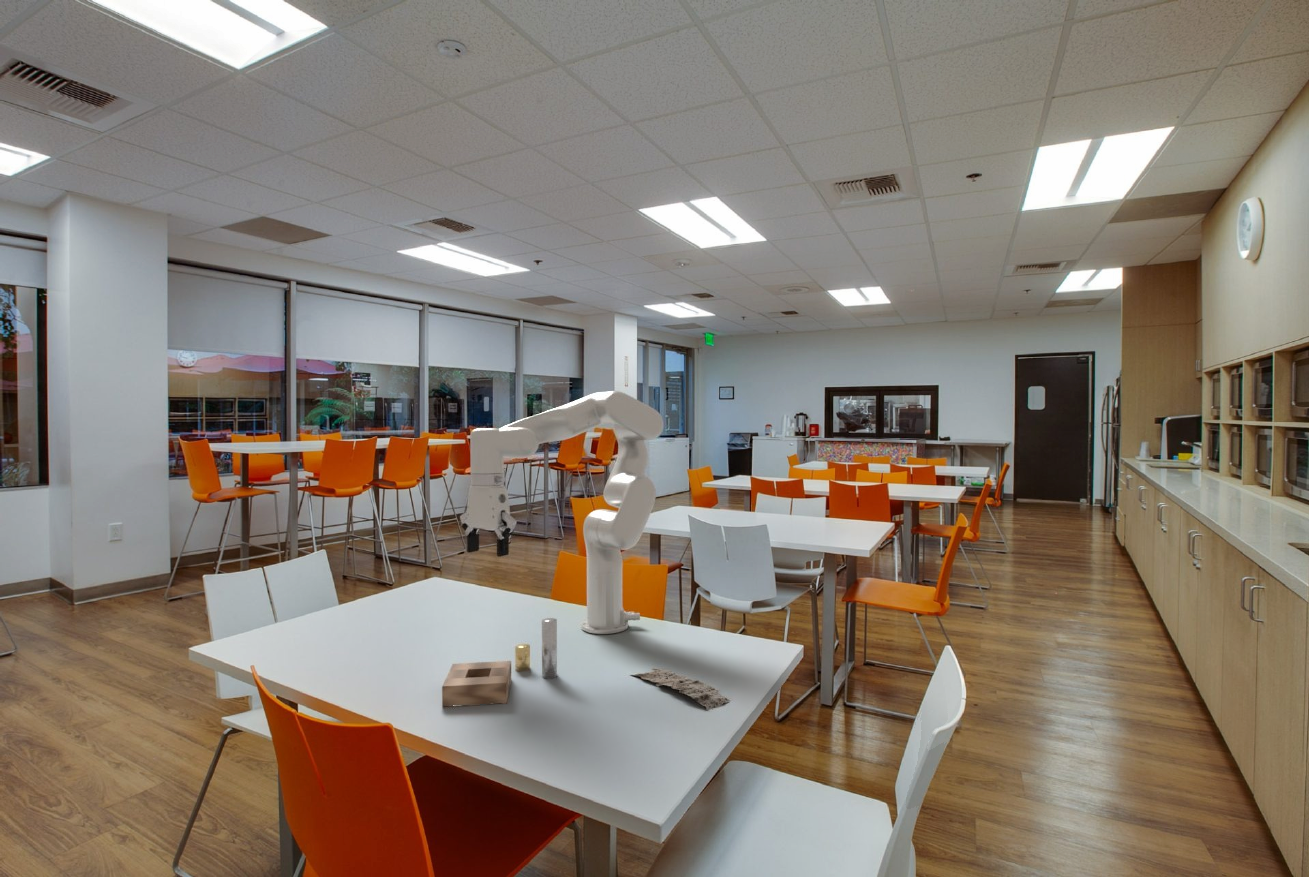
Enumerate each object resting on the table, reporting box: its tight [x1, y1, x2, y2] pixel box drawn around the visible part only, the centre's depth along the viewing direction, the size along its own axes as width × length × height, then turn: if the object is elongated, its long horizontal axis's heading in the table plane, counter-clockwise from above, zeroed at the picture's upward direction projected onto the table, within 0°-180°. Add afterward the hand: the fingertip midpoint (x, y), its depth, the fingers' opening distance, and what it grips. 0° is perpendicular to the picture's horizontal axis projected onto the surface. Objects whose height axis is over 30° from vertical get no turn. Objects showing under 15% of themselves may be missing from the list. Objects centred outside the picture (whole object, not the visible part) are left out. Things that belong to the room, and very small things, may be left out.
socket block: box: [441, 660, 512, 706], centre depth 129 cm, size 12×12×4 cm
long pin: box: [541, 617, 558, 679], centre depth 138 cm, size 3×3×12 cm
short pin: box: [514, 643, 531, 672], centre depth 142 cm, size 3×3×5 cm
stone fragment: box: [632, 667, 731, 711], centre depth 132 cm, size 25×3×10 cm
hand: (487, 553), depth 151 cm, fingers open, 9 cm apart
